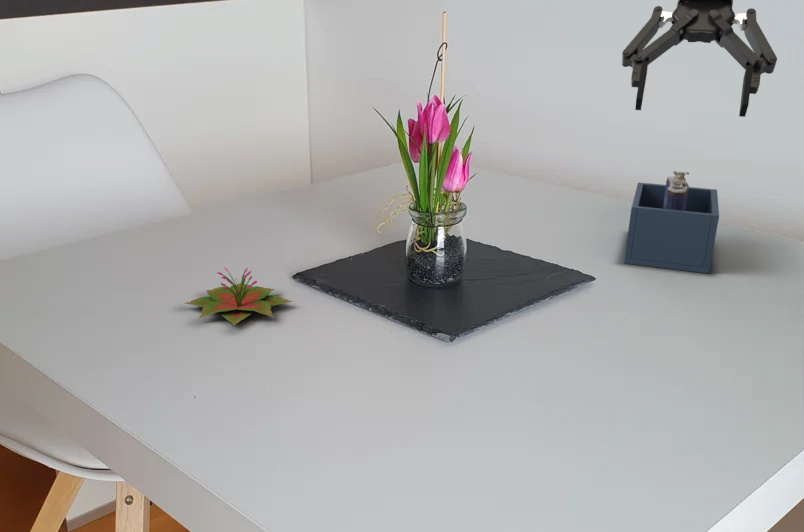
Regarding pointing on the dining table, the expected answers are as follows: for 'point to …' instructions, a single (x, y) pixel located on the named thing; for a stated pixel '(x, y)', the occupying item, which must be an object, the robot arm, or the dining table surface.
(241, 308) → the lily flower
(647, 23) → the robot arm
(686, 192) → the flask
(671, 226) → the bin
